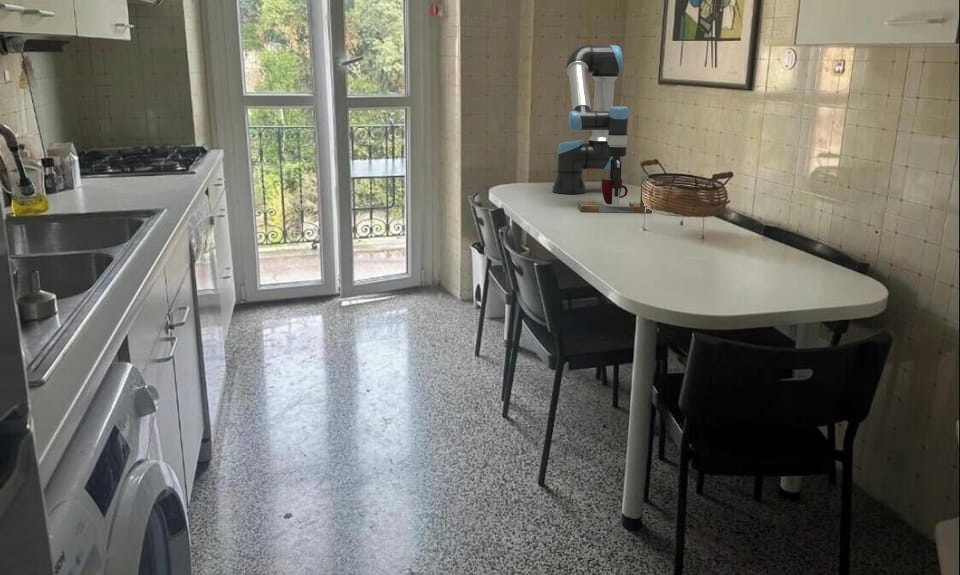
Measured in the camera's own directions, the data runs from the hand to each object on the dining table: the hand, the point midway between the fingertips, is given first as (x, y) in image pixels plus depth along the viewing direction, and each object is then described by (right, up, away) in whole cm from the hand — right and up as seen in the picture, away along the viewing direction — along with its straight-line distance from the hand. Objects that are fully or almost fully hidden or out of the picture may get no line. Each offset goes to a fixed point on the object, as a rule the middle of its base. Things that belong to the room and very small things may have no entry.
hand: (613, 203), depth 294 cm
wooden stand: (0, -3, -1) cm, 3 cm away
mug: (0, 0, 0) cm, 1 cm away
